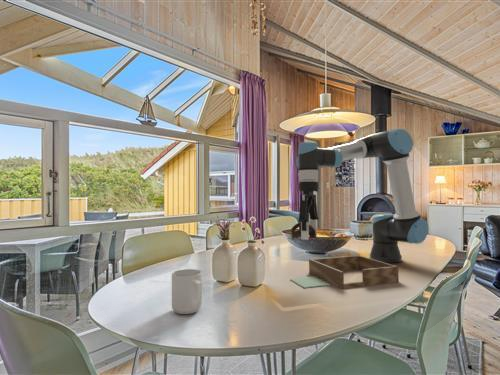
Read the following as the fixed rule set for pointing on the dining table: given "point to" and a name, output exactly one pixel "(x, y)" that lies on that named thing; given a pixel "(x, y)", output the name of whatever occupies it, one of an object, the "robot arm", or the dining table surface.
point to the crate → (370, 268)
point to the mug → (186, 291)
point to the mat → (310, 282)
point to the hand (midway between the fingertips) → (309, 237)
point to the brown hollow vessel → (298, 233)
